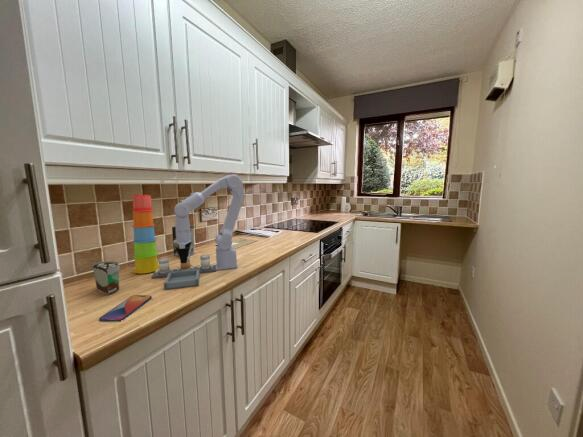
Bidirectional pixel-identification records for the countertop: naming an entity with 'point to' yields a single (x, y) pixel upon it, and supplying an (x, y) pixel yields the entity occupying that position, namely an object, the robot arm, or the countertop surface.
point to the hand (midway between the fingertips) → (184, 260)
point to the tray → (182, 279)
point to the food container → (107, 276)
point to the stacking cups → (144, 235)
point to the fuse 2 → (205, 262)
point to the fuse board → (158, 275)
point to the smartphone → (125, 308)
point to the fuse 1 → (164, 266)
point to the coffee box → (191, 250)
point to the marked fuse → (185, 265)
